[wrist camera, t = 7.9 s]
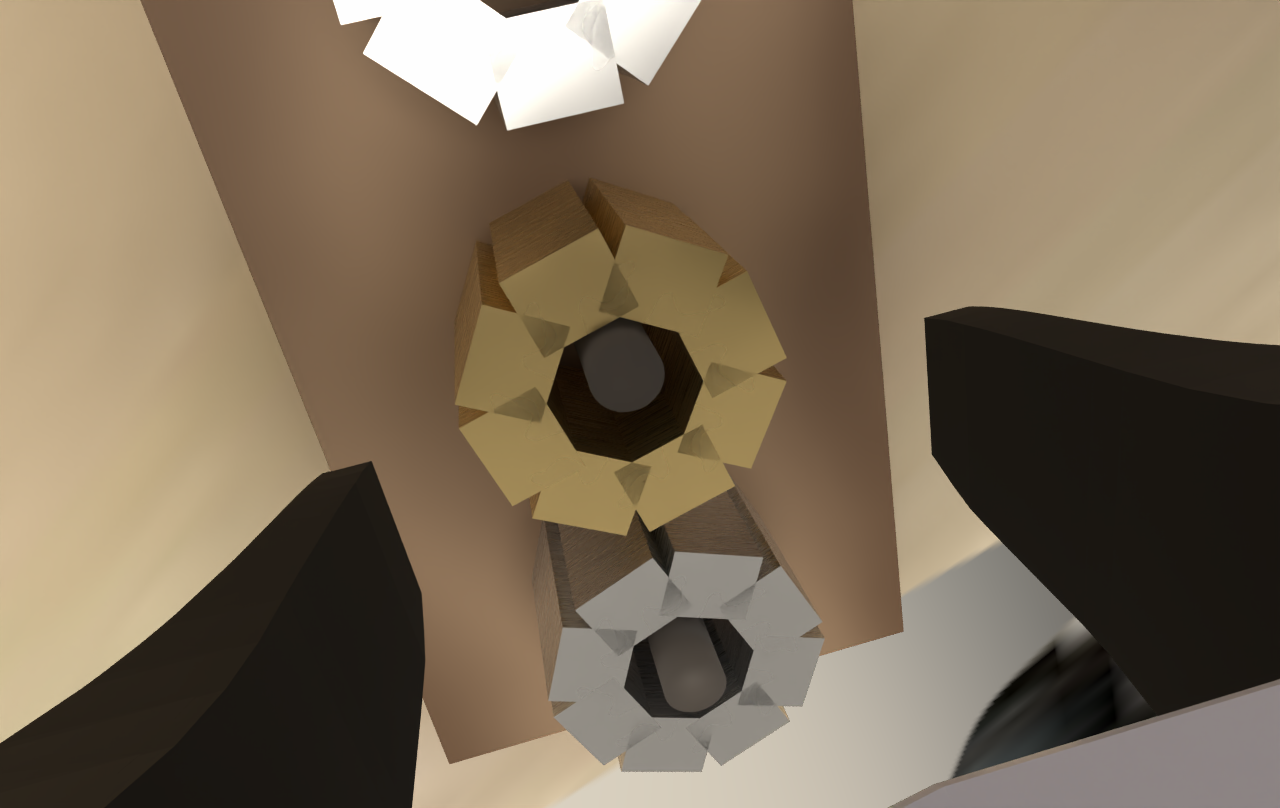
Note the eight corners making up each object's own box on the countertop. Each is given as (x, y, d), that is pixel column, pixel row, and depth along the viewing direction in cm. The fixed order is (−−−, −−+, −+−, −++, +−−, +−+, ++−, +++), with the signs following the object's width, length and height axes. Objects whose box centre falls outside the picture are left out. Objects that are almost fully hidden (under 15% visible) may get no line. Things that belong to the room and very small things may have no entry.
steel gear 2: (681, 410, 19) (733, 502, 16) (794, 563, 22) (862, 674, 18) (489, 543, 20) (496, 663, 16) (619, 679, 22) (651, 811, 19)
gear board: (781, -437, 15) (963, -679, 10) (878, 596, 25) (997, 763, 19) (47, -304, 14) (-206, -492, 9) (449, 720, 24) (448, 933, 18)
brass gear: (752, 226, 18) (826, 283, 14) (669, 452, 20) (716, 552, 16) (499, 149, 16) (511, 191, 13) (433, 401, 18) (428, 499, 15)
